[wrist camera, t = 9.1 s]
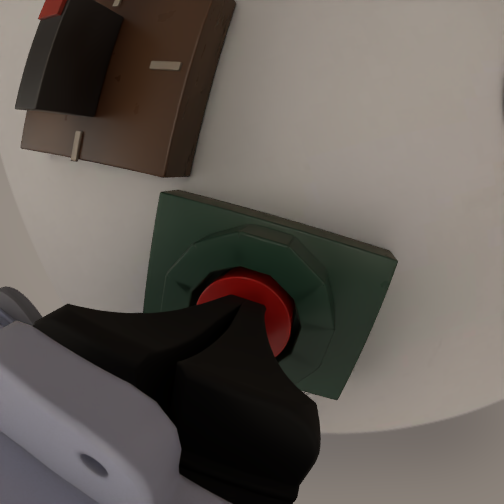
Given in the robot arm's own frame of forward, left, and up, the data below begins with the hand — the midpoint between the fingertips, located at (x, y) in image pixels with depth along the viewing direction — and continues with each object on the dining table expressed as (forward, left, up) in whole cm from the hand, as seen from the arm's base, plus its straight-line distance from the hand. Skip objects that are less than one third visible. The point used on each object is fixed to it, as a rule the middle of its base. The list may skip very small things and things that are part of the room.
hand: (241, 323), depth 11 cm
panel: (-10, +9, -3) cm, 13 cm away
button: (0, 0, -2) cm, 2 cm away
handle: (-10, +9, -1) cm, 13 cm away
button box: (0, 0, -3) cm, 3 cm away
